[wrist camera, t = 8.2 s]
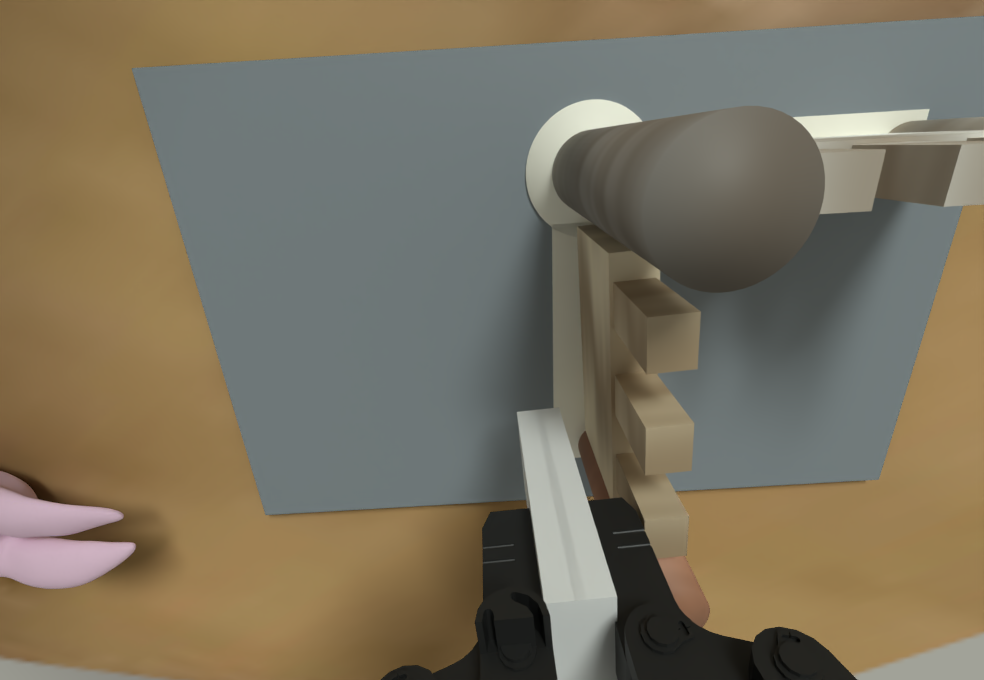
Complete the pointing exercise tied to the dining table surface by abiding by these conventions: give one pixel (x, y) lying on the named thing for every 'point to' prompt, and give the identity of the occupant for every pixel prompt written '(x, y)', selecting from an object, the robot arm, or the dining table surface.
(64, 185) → the dining table surface
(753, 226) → the white fence section
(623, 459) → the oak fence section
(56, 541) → the rabbit figure
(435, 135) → the board
